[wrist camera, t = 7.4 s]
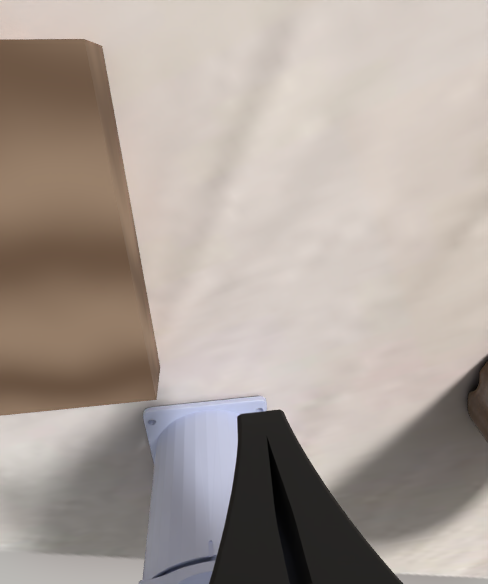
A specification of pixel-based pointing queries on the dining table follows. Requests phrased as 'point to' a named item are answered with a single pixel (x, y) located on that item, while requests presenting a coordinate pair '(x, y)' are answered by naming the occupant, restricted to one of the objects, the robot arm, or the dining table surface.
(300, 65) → the dining table surface
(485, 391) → the plant pot
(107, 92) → the walnut board
